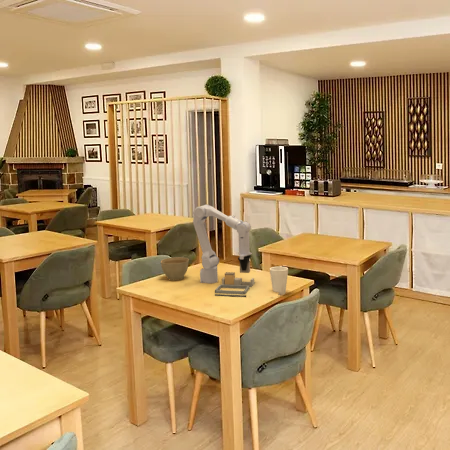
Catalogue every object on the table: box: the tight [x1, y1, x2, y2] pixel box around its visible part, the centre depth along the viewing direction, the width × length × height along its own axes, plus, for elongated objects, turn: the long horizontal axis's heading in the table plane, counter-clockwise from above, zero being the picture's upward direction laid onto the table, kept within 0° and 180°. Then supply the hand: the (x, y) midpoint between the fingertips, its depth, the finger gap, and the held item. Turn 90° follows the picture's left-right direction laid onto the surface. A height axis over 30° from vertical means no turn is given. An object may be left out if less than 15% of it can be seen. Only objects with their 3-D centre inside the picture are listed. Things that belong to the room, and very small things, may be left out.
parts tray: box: [214, 284, 251, 298], centre depth 291 cm, size 16×11×3 cm
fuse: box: [224, 271, 236, 285], centre depth 304 cm, size 5×3×6 cm, turn 75°
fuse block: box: [221, 276, 256, 288], centre depth 303 cm, size 10×17×4 cm, turn 75°
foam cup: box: [269, 266, 289, 296], centre depth 288 cm, size 10×9×13 cm
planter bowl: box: [160, 256, 190, 281], centre depth 325 cm, size 16×16×11 cm
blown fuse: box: [239, 260, 251, 274], centre depth 300 cm, size 5×3×6 cm, turn 76°
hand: (244, 269), depth 300 cm, fingers closed on blown fuse, 3 cm apart
